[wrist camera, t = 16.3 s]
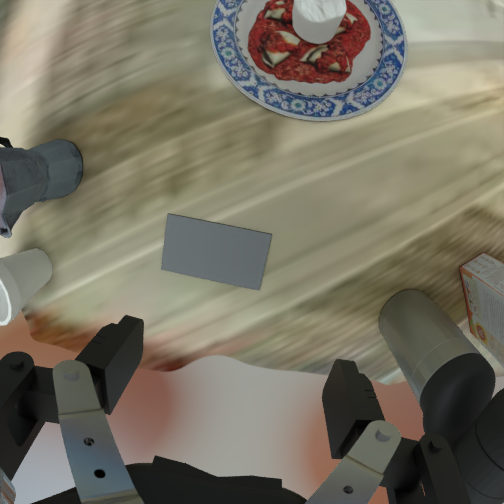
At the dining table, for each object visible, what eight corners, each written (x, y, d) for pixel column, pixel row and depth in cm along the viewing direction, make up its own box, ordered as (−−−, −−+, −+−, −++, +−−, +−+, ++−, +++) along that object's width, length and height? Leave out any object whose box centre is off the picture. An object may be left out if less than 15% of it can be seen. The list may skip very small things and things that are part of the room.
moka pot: (68, 225, 43) (-25, 269, 24) (22, 153, 40) (-72, 167, 21) (105, 184, 41) (7, 212, 22) (54, 110, 38) (-44, 104, 19)
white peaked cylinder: (367, 4, 20) (307, 8, 21) (341, 42, 31) (297, 47, 32) (347, -43, 18) (289, -40, 19) (328, 2, 30) (285, 8, 30)
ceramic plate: (378, 150, 38) (386, 150, 35) (189, 94, 37) (182, 90, 34) (413, 0, 30) (420, -8, 28) (244, -51, 30) (242, -62, 27)
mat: (271, 234, 42) (271, 234, 41) (259, 289, 44) (259, 290, 44) (168, 213, 42) (167, 213, 41) (161, 268, 44) (161, 269, 44)
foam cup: (49, 234, 44) (-4, 260, 31) (66, 287, 46) (20, 324, 34) (15, 245, 45) (-35, 269, 32) (31, 293, 47) (-13, 325, 35)
